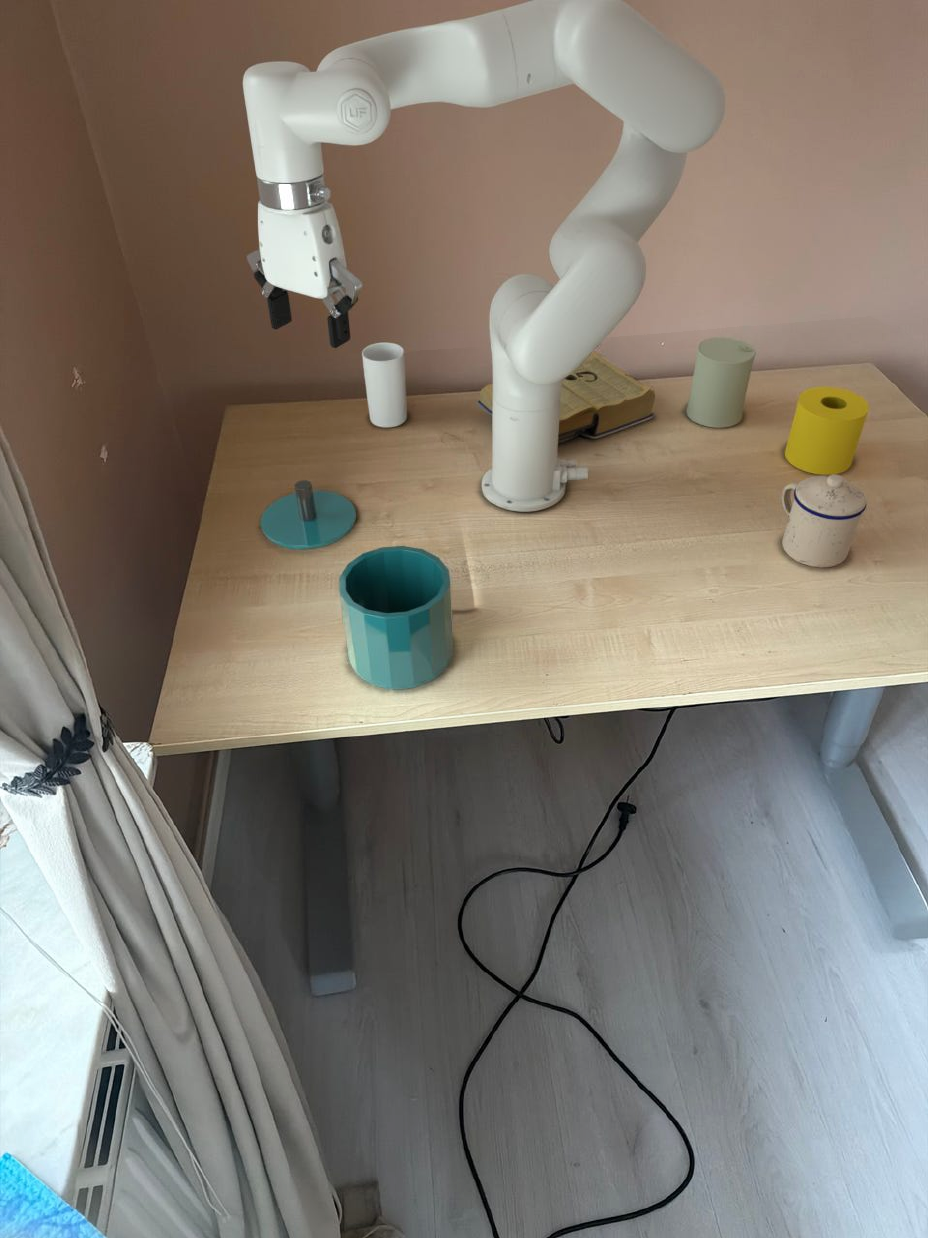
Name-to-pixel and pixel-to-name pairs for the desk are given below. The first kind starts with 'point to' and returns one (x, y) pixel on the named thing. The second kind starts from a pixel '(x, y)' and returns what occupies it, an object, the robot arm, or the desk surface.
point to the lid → (308, 518)
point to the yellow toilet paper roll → (826, 430)
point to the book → (595, 400)
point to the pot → (397, 616)
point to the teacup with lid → (821, 519)
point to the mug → (385, 383)
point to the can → (720, 381)
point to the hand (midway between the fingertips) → (310, 334)
